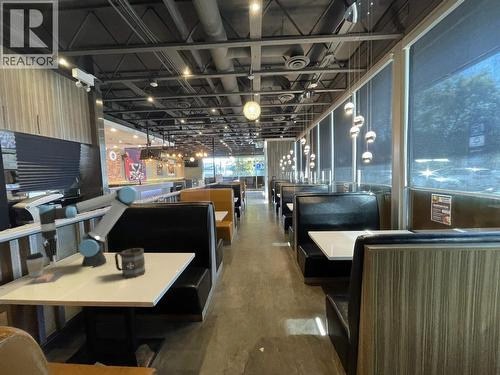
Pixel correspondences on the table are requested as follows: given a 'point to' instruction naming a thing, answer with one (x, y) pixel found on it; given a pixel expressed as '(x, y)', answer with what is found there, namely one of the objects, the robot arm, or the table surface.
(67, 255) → the table surface
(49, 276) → the tile
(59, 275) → the board
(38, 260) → the coffee cup
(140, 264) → the mug
